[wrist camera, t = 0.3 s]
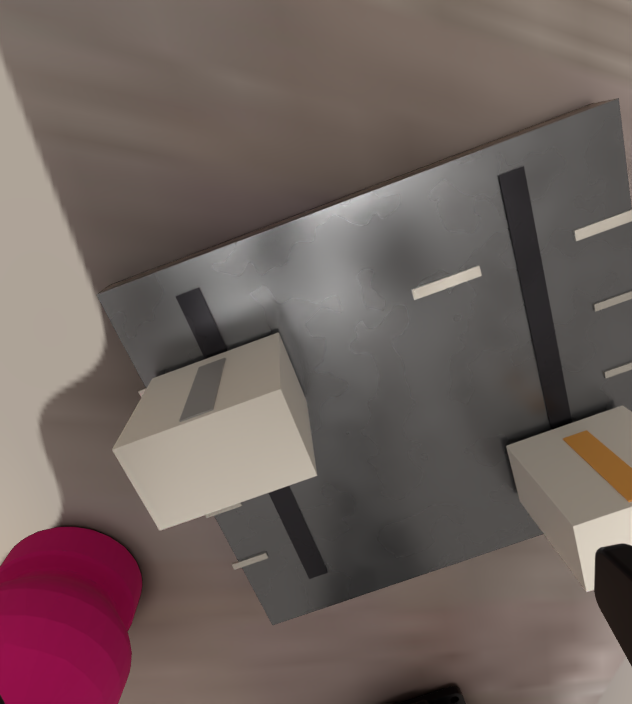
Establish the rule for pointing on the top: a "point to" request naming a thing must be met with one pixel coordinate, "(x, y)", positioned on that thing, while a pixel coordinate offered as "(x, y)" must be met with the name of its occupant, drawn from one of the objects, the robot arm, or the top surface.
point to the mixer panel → (413, 350)
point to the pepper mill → (66, 618)
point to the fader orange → (579, 486)
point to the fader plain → (218, 433)
